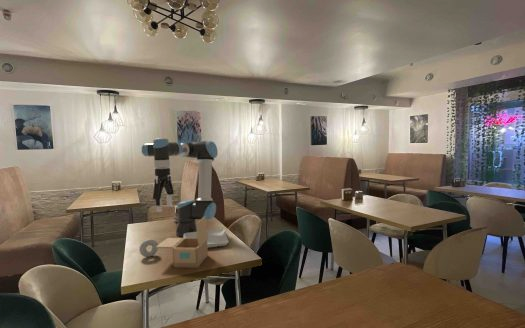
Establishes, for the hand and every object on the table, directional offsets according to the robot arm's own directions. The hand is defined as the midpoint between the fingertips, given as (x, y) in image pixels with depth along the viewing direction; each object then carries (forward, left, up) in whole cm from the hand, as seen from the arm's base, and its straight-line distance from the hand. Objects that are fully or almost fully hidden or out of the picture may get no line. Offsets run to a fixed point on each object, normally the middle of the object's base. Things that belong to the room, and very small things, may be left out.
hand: (164, 208), depth 143 cm
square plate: (-27, +12, -29) cm, 41 cm away
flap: (+1, +20, -12) cm, 23 cm away
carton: (+1, +9, -28) cm, 29 cm away
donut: (-4, -12, -28) cm, 31 cm away
